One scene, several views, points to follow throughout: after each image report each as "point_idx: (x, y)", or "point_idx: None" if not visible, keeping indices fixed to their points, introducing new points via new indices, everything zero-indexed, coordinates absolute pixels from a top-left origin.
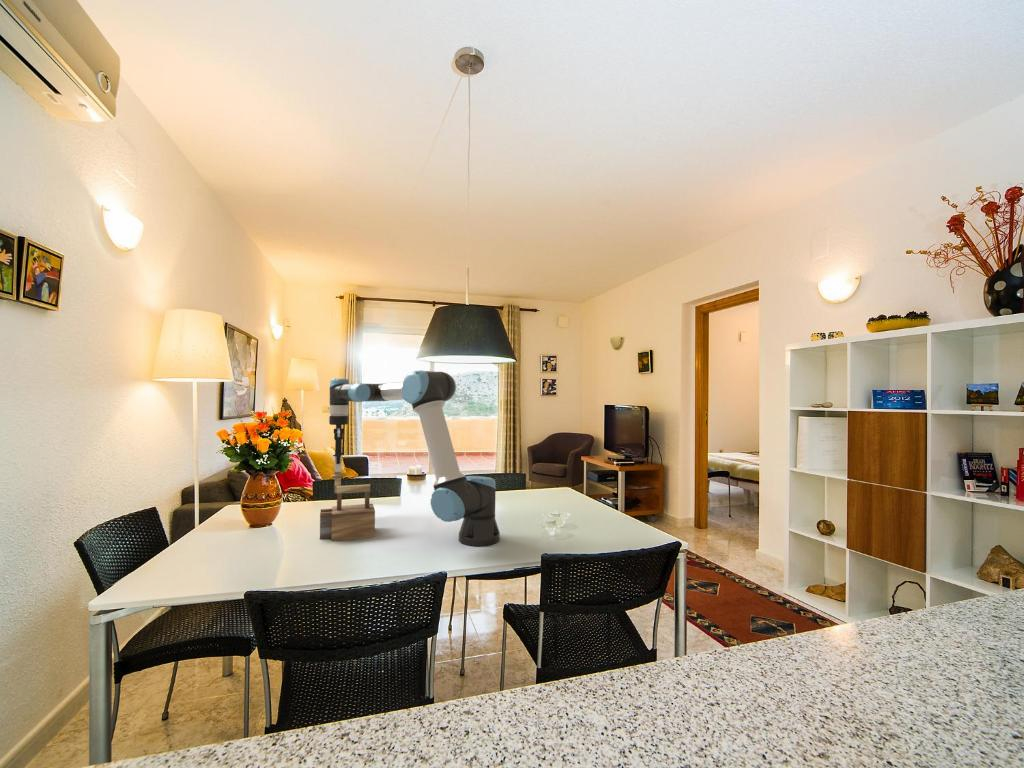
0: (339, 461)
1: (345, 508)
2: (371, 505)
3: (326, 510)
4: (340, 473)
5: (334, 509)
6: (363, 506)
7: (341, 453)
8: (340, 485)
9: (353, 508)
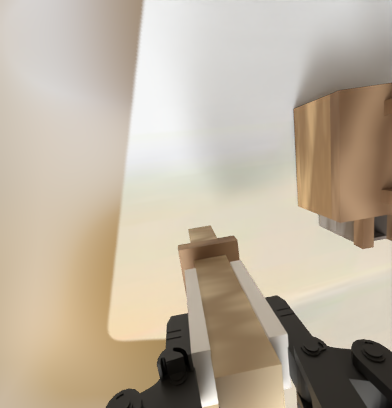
0: (291, 311)
1: (376, 178)
2: (364, 93)
3: (372, 231)
4: (227, 260)
5: (378, 209)
6: (370, 121)
7: (384, 354)
8: (215, 235)
9: (385, 152)
